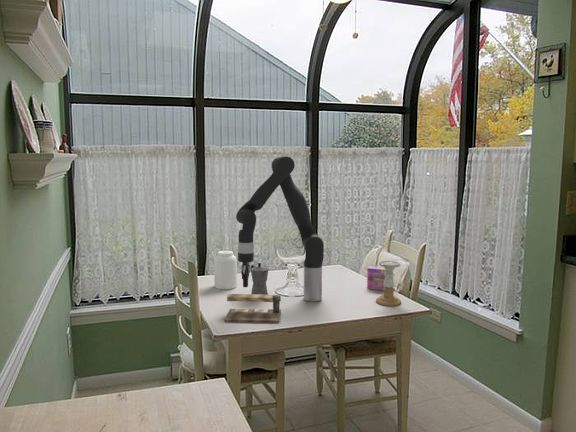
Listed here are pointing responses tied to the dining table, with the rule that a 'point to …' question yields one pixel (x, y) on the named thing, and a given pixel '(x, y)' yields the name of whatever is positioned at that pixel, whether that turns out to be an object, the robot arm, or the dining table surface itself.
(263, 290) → the coffeepot
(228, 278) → the white jar
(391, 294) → the candle holder
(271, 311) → the label board
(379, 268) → the box
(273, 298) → the swing arm
